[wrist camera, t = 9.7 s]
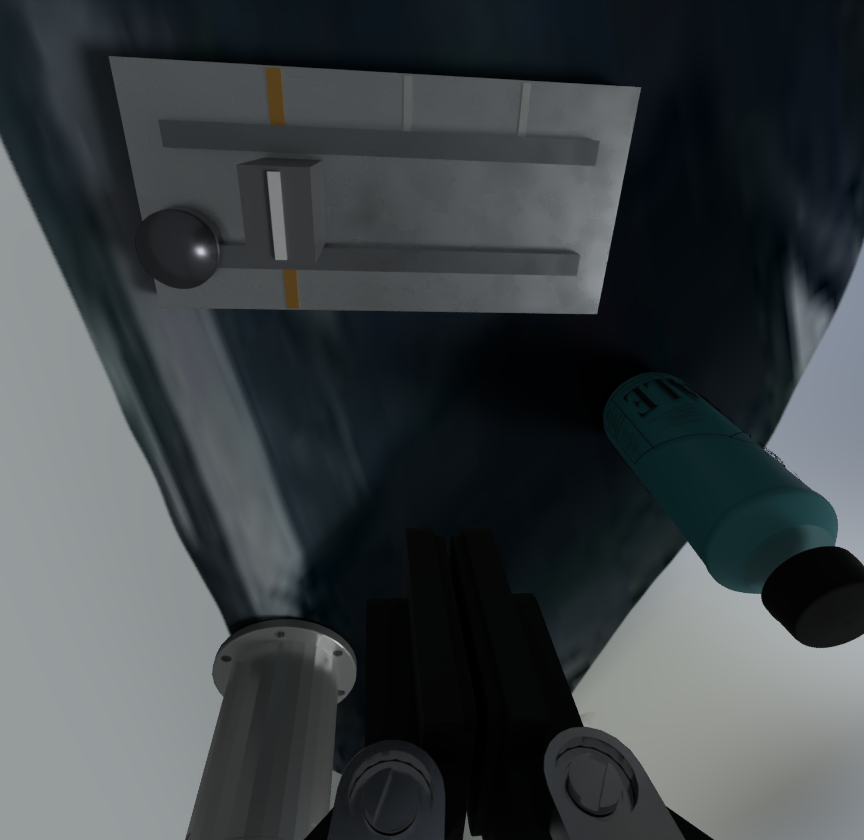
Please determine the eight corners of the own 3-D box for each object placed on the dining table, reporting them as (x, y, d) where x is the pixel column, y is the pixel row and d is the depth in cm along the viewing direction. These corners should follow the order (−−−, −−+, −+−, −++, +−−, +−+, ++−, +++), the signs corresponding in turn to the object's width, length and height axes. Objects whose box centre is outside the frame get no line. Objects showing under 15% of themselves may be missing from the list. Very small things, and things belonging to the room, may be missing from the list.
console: (585, 304, 35) (606, 321, 32) (171, 297, 32) (150, 315, 29) (625, 89, 29) (654, 85, 26) (126, 60, 27) (93, 52, 24)
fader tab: (326, 240, 30) (315, 265, 24) (270, 238, 29) (246, 263, 24) (322, 160, 28) (309, 168, 22) (263, 157, 27) (235, 164, 22)
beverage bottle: (621, 454, 41) (802, 696, 24) (573, 399, 38) (737, 627, 21) (695, 401, 39) (949, 619, 22) (650, 339, 37) (899, 532, 19)
